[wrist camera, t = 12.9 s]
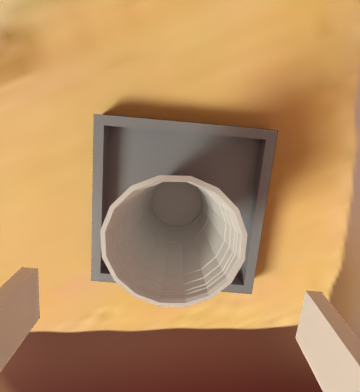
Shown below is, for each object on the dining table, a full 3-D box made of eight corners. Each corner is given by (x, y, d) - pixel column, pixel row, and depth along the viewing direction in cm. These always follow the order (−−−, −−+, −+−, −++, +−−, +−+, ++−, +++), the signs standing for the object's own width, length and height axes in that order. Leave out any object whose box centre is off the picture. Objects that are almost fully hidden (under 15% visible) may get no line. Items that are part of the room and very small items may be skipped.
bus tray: (101, 114, 32) (93, 113, 29) (269, 129, 32) (277, 130, 29) (98, 268, 36) (91, 280, 33) (246, 281, 36) (251, 294, 33)
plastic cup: (139, 255, 35) (116, 323, 23) (119, 164, 32) (82, 187, 20) (232, 241, 34) (257, 303, 22) (219, 147, 32) (239, 161, 20)
